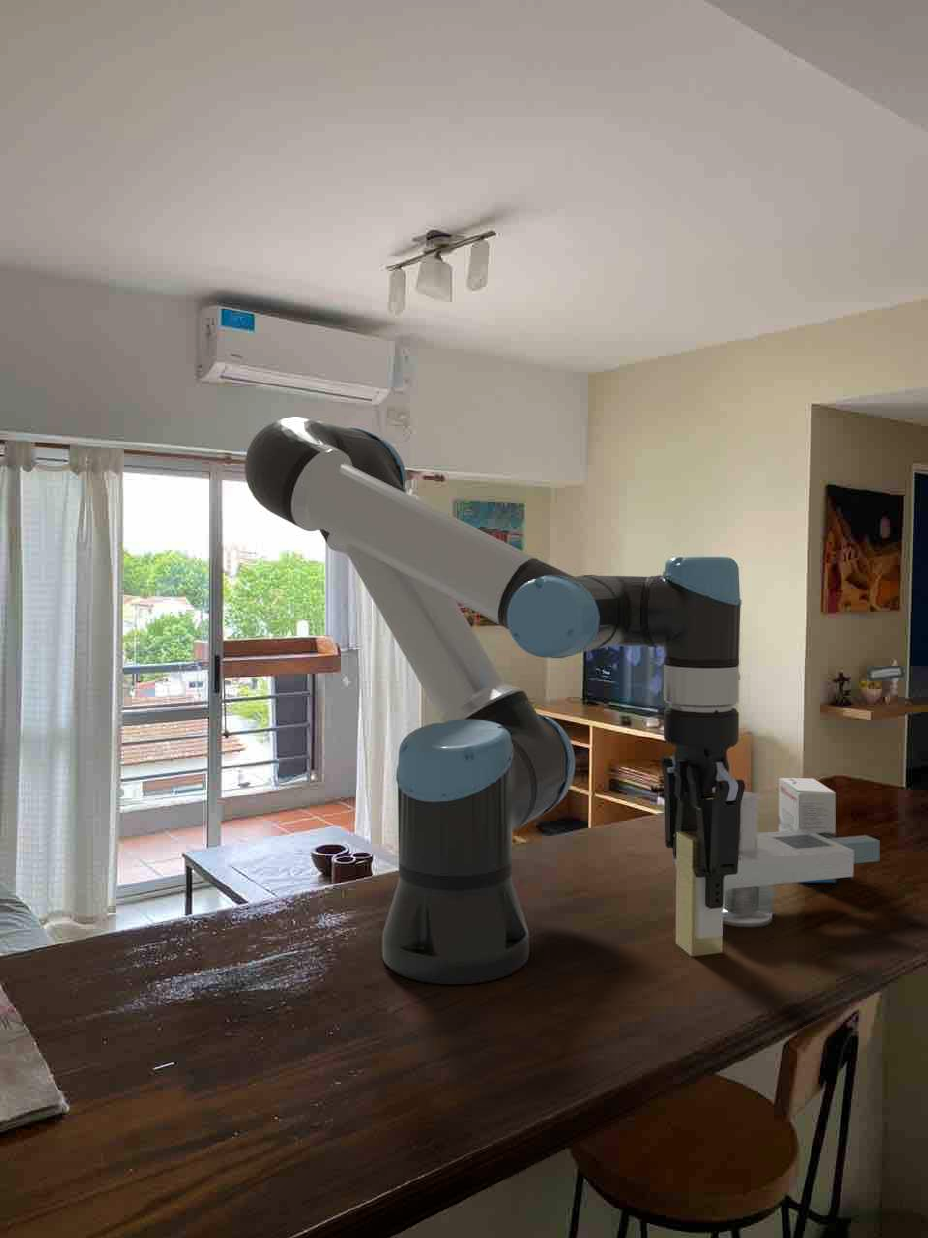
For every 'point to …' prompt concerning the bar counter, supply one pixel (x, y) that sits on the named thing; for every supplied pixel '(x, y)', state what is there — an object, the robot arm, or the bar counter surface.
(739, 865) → the slotted post fixture
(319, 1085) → the bar counter surface
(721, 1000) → the bar counter surface
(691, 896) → the pale yellow rectangular block
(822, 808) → the ink box
